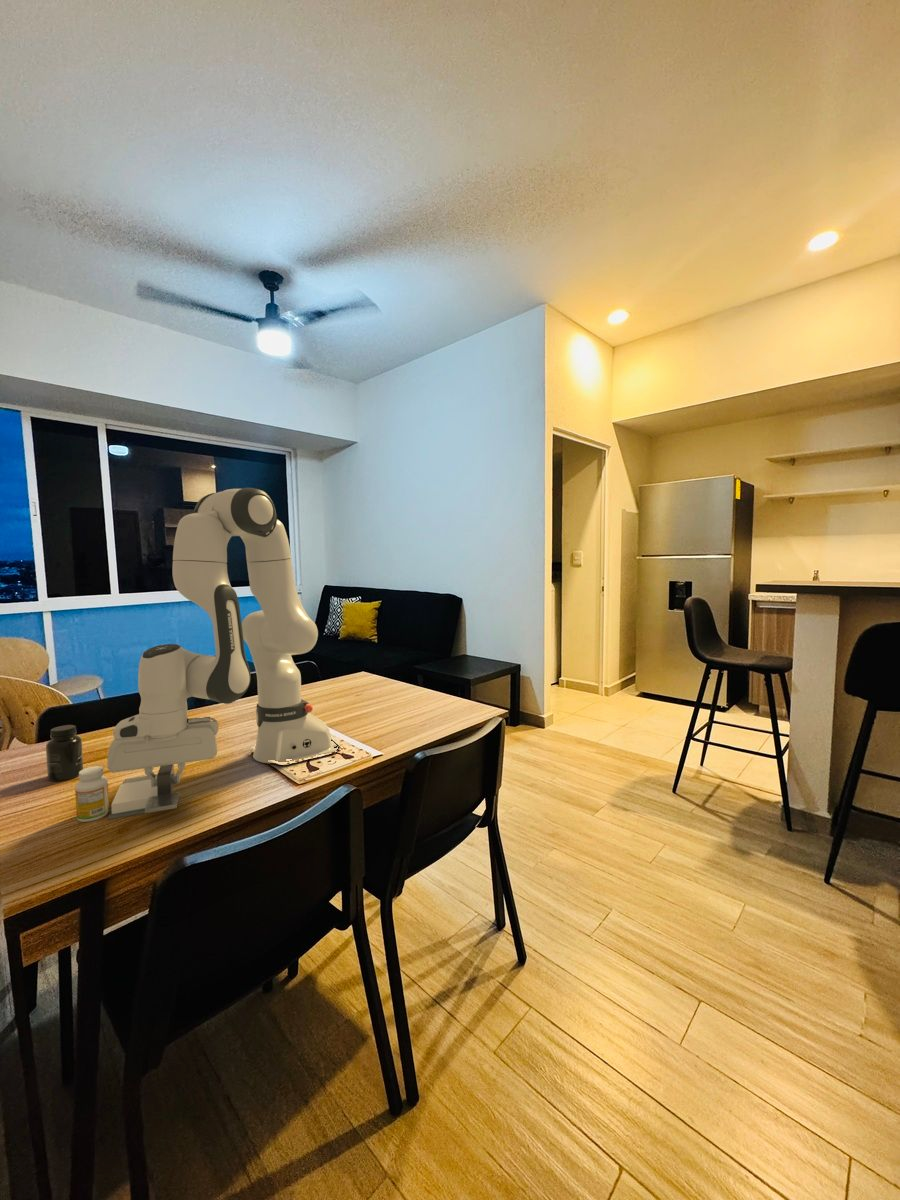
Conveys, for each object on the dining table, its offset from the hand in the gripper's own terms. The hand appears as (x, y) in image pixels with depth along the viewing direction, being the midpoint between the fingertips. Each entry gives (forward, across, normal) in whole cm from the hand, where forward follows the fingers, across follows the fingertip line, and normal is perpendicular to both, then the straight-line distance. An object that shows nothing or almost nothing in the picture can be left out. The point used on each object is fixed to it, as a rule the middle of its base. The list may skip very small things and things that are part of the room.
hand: (166, 784), depth 104 cm
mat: (+4, +6, -7) cm, 10 cm away
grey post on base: (+2, 0, +3) cm, 3 cm away
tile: (+3, +6, -8) cm, 10 cm away
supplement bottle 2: (+5, +13, 0) cm, 14 cm away
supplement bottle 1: (+5, +24, -25) cm, 35 cm away
